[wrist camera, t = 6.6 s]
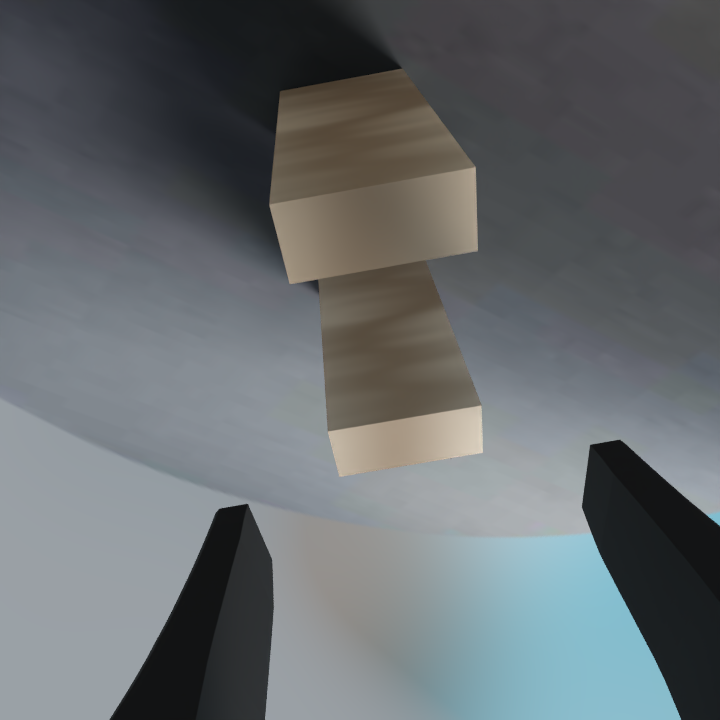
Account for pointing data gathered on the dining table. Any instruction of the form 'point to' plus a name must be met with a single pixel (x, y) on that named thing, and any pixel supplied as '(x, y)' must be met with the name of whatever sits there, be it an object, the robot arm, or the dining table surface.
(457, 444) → the wooden block
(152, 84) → the dining table surface
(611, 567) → the robot arm
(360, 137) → the beige wooden block
